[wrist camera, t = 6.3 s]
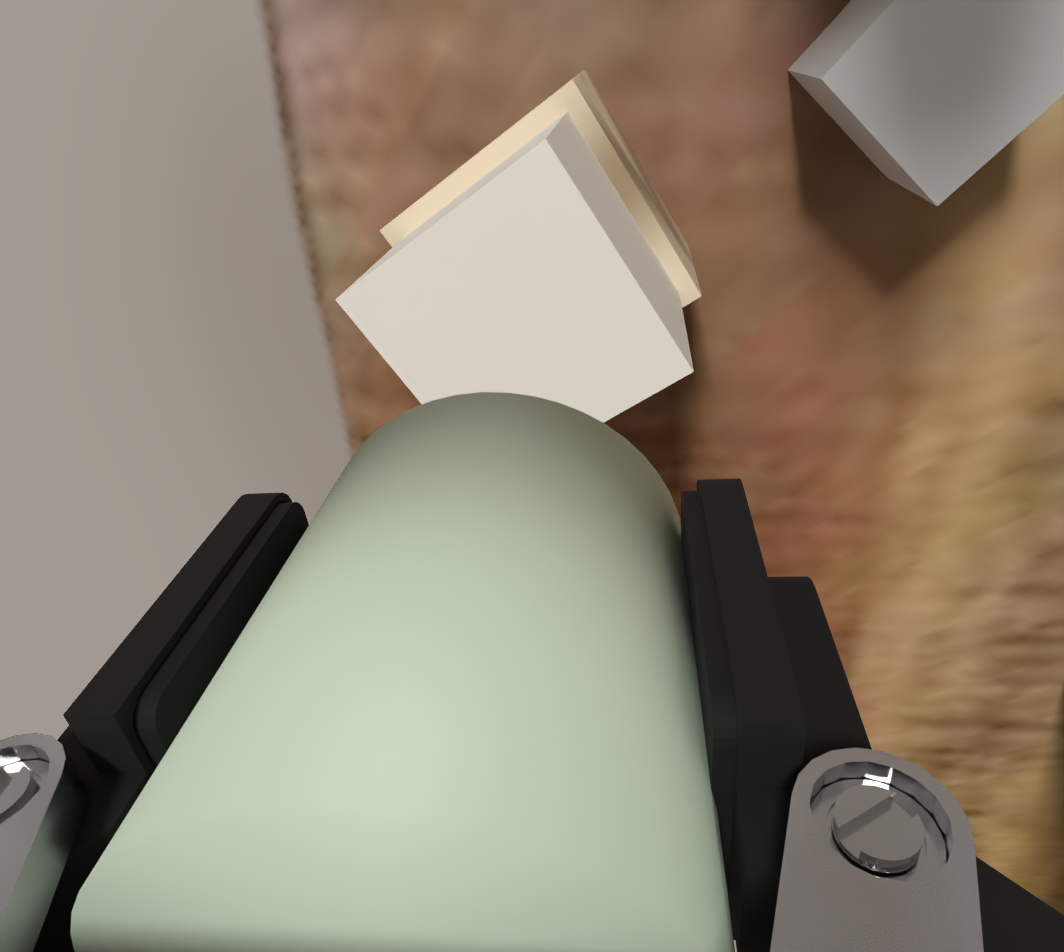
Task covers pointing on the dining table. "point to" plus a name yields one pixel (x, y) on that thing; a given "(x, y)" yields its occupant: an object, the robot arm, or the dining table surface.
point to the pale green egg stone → (445, 719)
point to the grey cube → (936, 82)
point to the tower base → (610, 154)
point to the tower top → (529, 289)
